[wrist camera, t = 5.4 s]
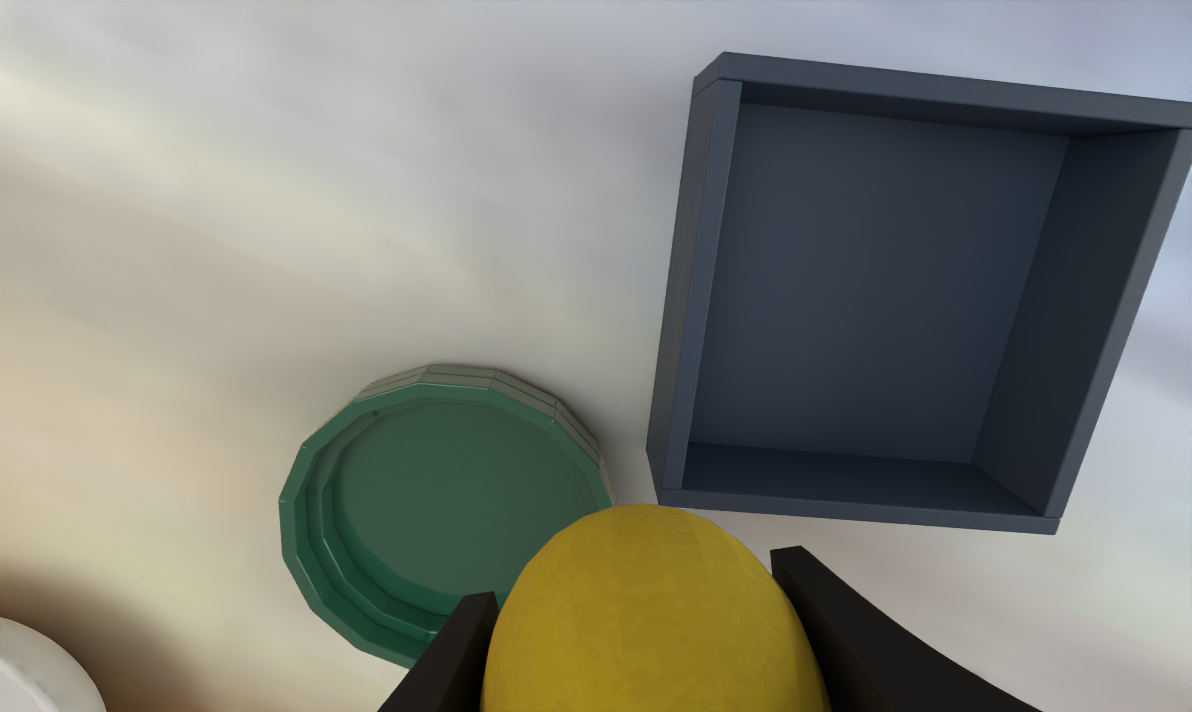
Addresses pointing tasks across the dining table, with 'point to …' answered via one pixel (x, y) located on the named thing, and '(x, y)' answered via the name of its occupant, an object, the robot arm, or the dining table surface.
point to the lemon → (649, 624)
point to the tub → (902, 290)
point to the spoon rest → (41, 674)
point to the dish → (431, 501)
